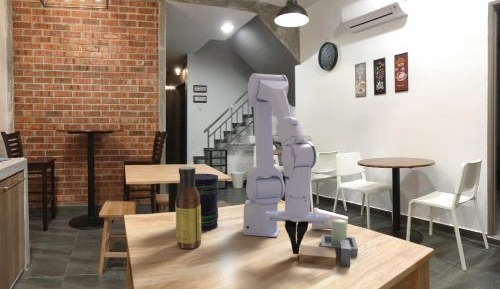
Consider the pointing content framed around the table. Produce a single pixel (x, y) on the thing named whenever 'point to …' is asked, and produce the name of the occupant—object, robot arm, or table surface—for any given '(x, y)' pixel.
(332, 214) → the smoothie
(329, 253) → the tan rectangular block
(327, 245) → the slate tray
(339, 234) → the sage dowel
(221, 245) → the table surface
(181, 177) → the sauce bottle
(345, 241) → the post
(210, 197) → the storage jar
